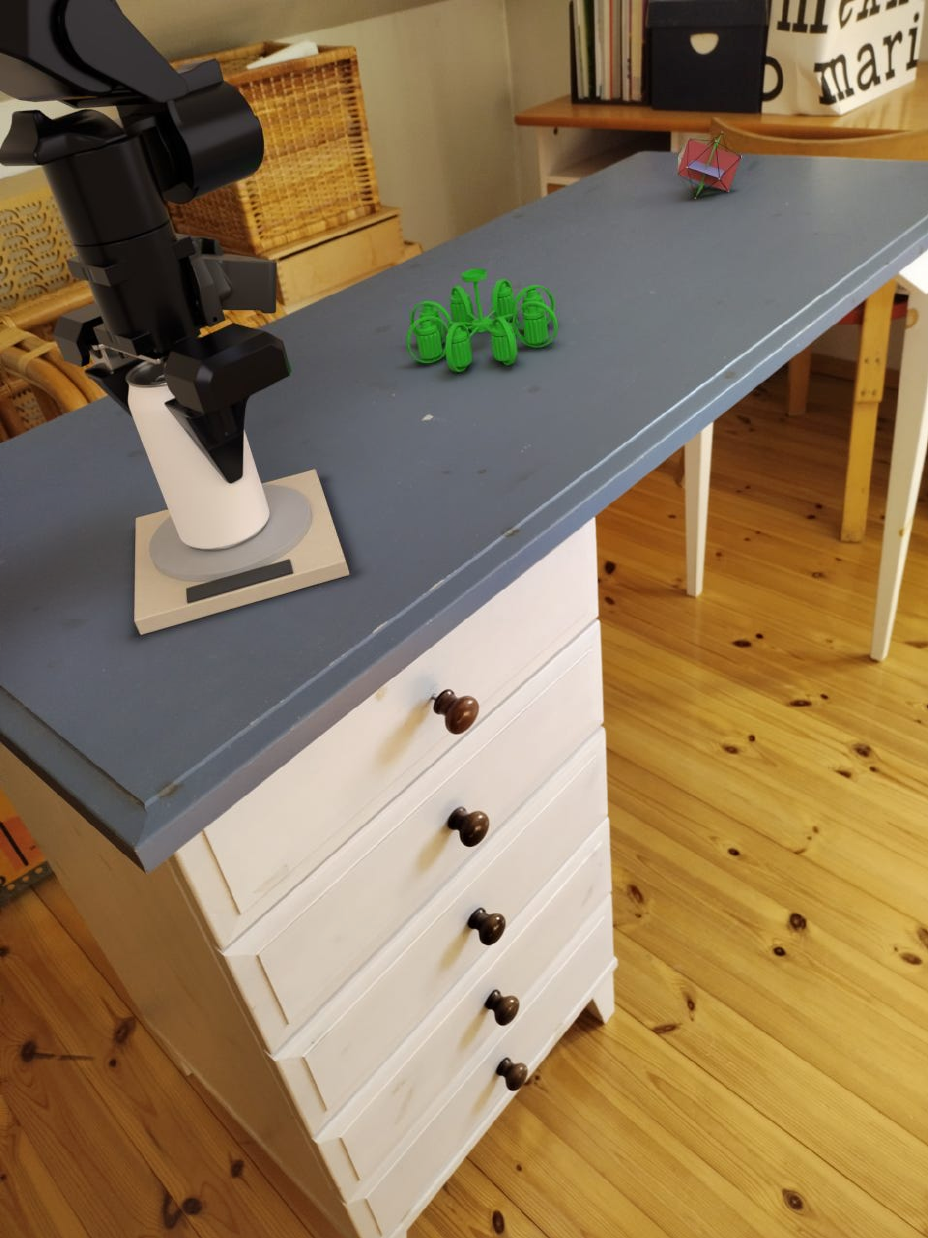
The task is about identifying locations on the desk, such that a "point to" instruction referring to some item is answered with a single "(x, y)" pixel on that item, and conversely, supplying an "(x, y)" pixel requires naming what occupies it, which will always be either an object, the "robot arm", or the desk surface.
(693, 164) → the geometric puzzle
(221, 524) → the can
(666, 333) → the desk surface
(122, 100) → the robot arm
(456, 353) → the chandelier
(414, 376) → the desk surface
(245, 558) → the scale
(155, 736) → the desk surface
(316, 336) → the desk surface
